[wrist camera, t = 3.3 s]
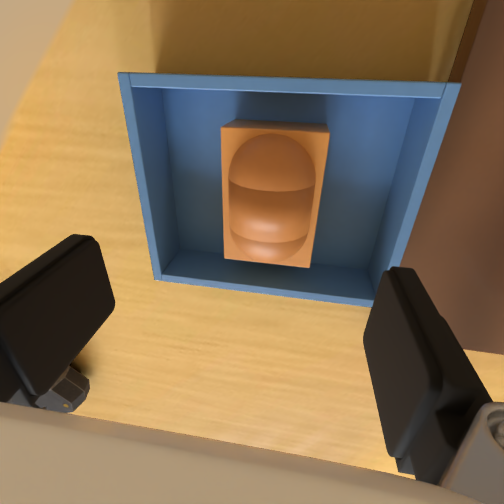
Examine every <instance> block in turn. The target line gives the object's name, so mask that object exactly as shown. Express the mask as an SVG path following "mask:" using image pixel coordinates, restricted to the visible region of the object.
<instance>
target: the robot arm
mask: <svg viewBox="0 0 504 504" xmlns="http://www.w3.org/2000/svg"><path fill="white" fill-rule="evenodd" d="M114 308H115V299H114V296H113V292H112V289H111V285H110V281H109V278H108V274H107V271H106V267H105V264H104V260H103V257H102V253H101V249H100V246H99V243H98V242H97V241H95V239H94V238H93V237H92V236H88V235H78V234H73V235H70V236H69V237H67V238H66V239H64V240H63V241H61V242H60V243H59V244H57V245H56V246H54V247H53V248H51V249H50V250H48V251H47V252H45V253H44V254H42V255H41V256H40V257H38V258H37V259H35V260H34V261H32V262H31V263H29V264H28V265H26V266H25V267H24V268H22V269H21V270H19V271H18V272H16V273H15V274H13V275H12V276H10V277H9V278H7V279H6V280H5V281H3V282H2V283H0V504H504V402H493V401H492V399H491V397H490V395H489V394H488V392H487V390H486V389H485V387H484V385H483V383H482V382H481V380H480V378H479V376H478V375H477V373H476V371H475V370H474V368H473V366H472V364H471V363H470V361H469V359H468V357H467V356H466V354H465V352H464V351H463V349H462V347H461V345H460V344H459V342H458V340H457V338H456V337H455V335H454V333H453V332H452V330H451V328H450V326H449V325H448V323H447V321H446V320H445V319H444V317H443V316H441V315H440V314H439V312H438V310H437V308H436V307H435V305H434V303H433V301H432V300H431V298H430V296H429V294H428V293H427V291H426V289H425V287H424V286H423V284H422V282H421V280H420V278H419V277H418V275H417V273H416V271H415V270H414V269H413V268H406V267H396V266H392V267H391V268H390V270H385V271H384V272H383V274H382V277H381V280H380V283H379V286H378V289H377V293H376V296H375V299H374V302H373V306H372V309H371V312H370V315H369V318H368V322H367V325H366V328H365V331H364V336H363V344H364V349H365V353H366V358H367V362H368V367H369V371H370V376H371V380H372V385H373V389H374V394H375V399H376V403H377V408H378V412H379V417H380V421H381V426H382V430H383V435H384V439H385V444H386V448H387V452H388V454H389V455H390V456H391V457H395V460H396V464H397V468H398V472H401V473H406V474H412V475H415V478H416V480H414V479H410V478H406V477H402V476H398V475H394V474H390V473H386V472H381V471H376V470H371V469H366V468H361V467H356V466H351V465H346V464H341V463H336V462H331V461H326V460H321V459H316V458H311V457H306V456H301V455H295V454H290V453H284V452H279V451H273V450H268V449H262V448H257V447H252V446H246V445H241V444H235V443H230V442H224V441H219V440H213V439H208V438H202V437H197V436H191V435H186V434H180V433H175V432H169V431H163V430H158V429H152V428H147V427H141V426H135V425H130V424H124V423H118V422H113V421H107V420H102V419H96V418H90V417H85V416H79V415H73V414H67V413H62V412H56V411H50V410H44V409H38V408H33V407H32V406H33V404H34V403H35V402H36V401H37V400H38V398H39V397H40V396H42V395H44V394H46V393H47V392H48V391H49V389H50V388H51V387H52V386H53V385H54V383H55V382H56V381H57V380H58V378H59V377H60V376H61V375H62V373H63V372H64V371H65V370H66V368H67V367H68V366H69V365H70V364H71V362H72V361H73V360H74V359H75V357H76V356H77V355H78V354H79V352H80V351H81V350H82V349H83V347H84V346H85V345H86V344H87V343H88V341H89V340H90V339H91V338H92V336H93V335H94V334H95V333H96V331H97V330H98V329H99V328H100V327H101V325H102V324H103V323H104V322H105V320H106V319H107V318H108V317H109V315H110V314H111V313H112V312H113V310H114ZM10 399H12V401H13V402H14V404H9V403H7V402H8V401H9V400H10ZM15 404H18V405H15ZM21 405H24V406H21ZM27 406H29V407H27Z"/></svg>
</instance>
